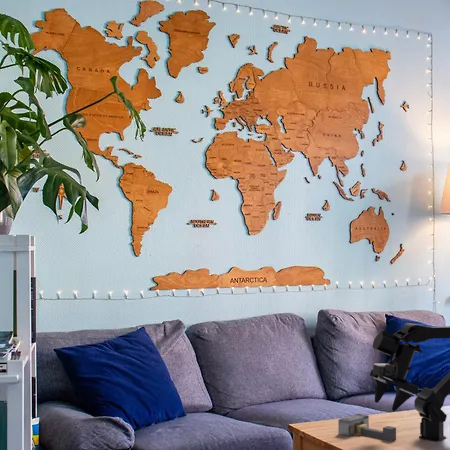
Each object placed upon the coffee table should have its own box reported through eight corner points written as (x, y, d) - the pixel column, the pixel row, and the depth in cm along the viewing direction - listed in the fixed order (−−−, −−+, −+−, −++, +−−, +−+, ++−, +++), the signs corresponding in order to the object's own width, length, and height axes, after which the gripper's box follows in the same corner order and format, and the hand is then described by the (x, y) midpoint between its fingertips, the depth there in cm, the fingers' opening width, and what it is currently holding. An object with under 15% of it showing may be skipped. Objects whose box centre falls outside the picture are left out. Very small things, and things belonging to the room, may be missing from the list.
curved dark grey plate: (368, 429, 245) (368, 415, 245) (348, 436, 237) (348, 421, 237) (358, 427, 248) (358, 413, 248) (338, 434, 239) (338, 419, 240)
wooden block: (367, 433, 241) (367, 424, 241) (360, 435, 238) (360, 426, 238) (354, 431, 244) (354, 422, 245) (347, 433, 242) (347, 424, 242)
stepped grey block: (396, 439, 233) (396, 427, 233) (391, 441, 231) (391, 429, 231) (366, 433, 241) (366, 421, 241) (361, 435, 238) (361, 423, 239)
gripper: (366, 346, 240) (349, 391, 238) (400, 359, 223) (382, 407, 221) (391, 357, 244) (374, 401, 242) (427, 370, 227) (409, 418, 225)
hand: (384, 406), depth 232 cm, fingers open, 9 cm apart
